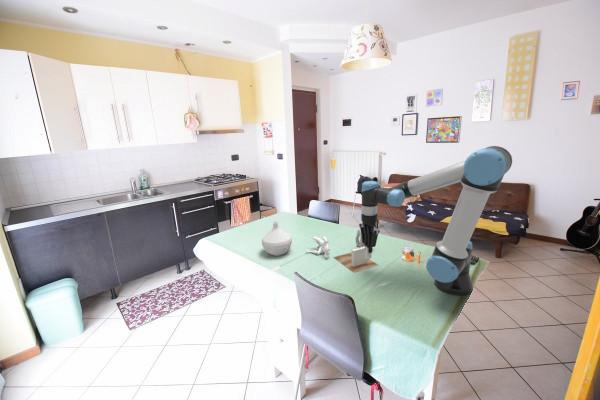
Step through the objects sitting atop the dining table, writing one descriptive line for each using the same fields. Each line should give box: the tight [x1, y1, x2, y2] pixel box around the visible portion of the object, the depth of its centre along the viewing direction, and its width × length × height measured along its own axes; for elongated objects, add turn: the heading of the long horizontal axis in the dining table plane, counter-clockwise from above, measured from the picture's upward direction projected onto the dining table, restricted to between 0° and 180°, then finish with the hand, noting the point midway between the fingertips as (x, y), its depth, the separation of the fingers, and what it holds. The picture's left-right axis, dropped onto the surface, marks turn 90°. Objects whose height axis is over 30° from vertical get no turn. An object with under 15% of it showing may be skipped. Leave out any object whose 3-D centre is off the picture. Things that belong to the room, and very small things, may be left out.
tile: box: [351, 246, 367, 267], centre depth 147 cm, size 2×9×9 cm, turn 115°
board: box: [332, 251, 379, 274], centre depth 152 cm, size 20×16×1 cm
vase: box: [261, 221, 293, 257], centre depth 168 cm, size 18×18×19 cm
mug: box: [355, 229, 374, 250], centre depth 166 cm, size 8×12×12 cm, turn 35°
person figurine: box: [305, 235, 331, 259], centre depth 165 cm, size 13×13×18 cm
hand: (368, 257), depth 140 cm, fingers closed
